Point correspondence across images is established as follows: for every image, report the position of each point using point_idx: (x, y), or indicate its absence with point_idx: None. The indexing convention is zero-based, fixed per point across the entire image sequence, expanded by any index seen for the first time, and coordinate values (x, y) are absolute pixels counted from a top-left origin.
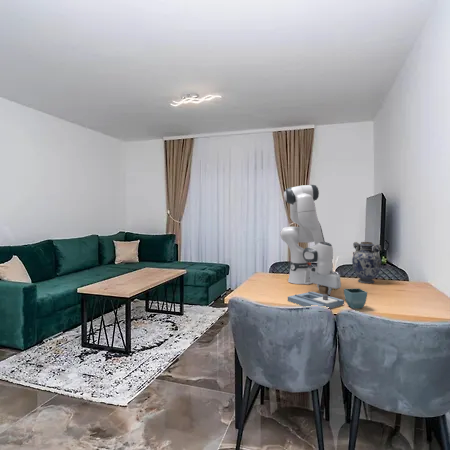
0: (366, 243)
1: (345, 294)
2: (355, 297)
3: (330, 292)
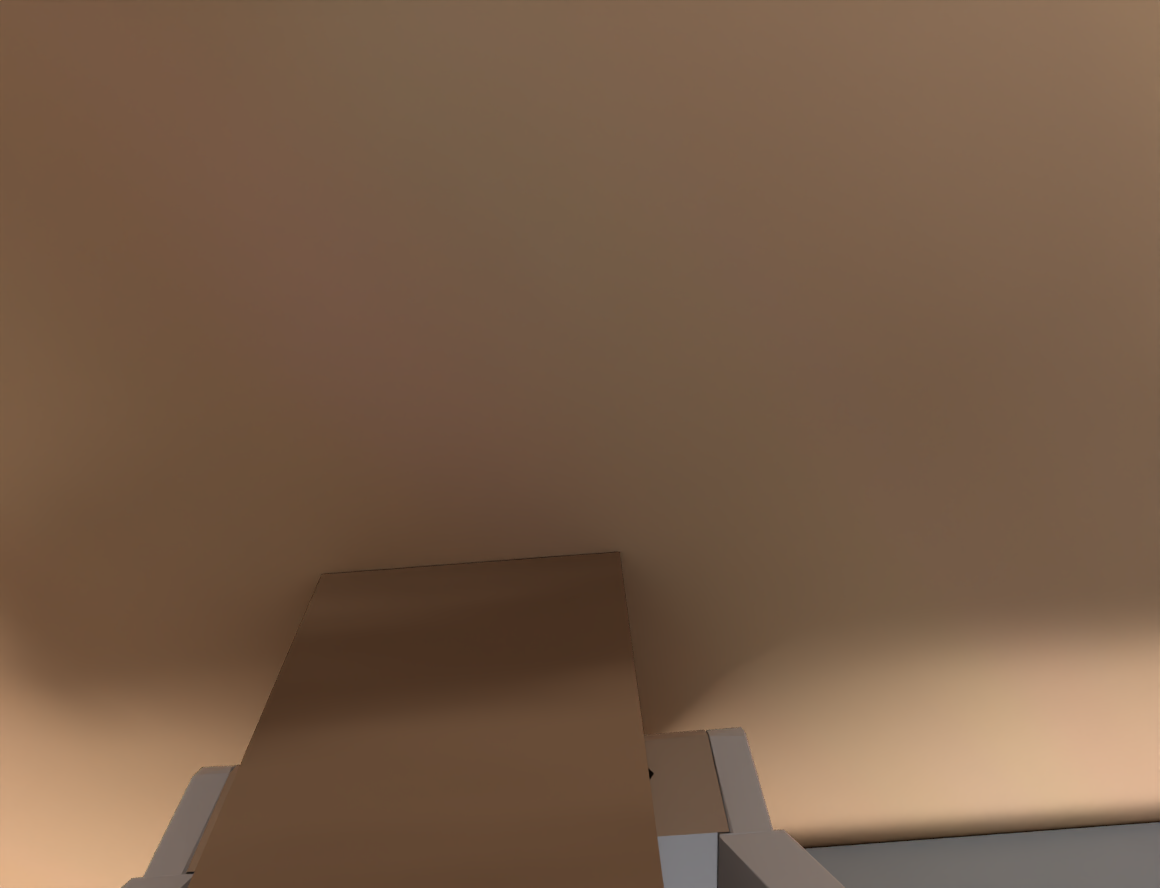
0: None
1: None
2: None
3: (759, 789)
